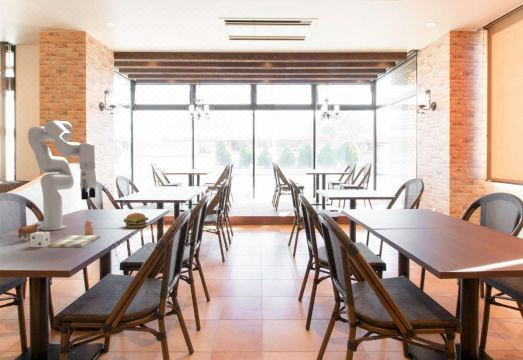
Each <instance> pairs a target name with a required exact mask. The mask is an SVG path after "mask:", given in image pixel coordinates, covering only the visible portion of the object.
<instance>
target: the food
mask: <svg viewBox="0 0 523 360" xmlns="http://www.w3.org/2000/svg"><path fill="white" fill-rule="evenodd" d="M122 221H123V223H125V227H127V228H130V229H136V228H137V229H138V228H139V229H140V228H145V227H146V226H147V224H148V221H149V217H147V216H146V215H145V214H144V213H140V212H133V213H132V212H131V213H130V214H127V216H126V217H124V218H123V220H122Z"/></svg>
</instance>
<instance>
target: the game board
mask: <svg viewBox="0 0 523 360" xmlns="http://www.w3.org/2000/svg"><path fill="white" fill-rule="evenodd" d="M99 238H101V235H97V234H95V235H94V234H93V235H85V234H84V235H83V234H82V235H80V234H79V235H74V234H72V235H67V236H65V237H63V238H60V239H58V240H55V241H54V242H50V244H49V245H47V246H48V247H49V248H84V247H86V246H87V245H90V243H92V242H94V241H96V240H98V239H99Z"/></svg>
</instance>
